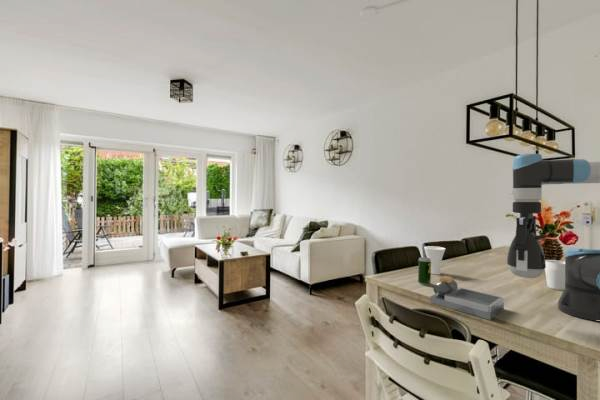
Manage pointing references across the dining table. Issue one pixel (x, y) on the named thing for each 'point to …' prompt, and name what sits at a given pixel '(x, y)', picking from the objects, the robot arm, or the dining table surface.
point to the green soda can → (424, 271)
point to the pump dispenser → (528, 257)
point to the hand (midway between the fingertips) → (526, 267)
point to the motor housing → (466, 299)
